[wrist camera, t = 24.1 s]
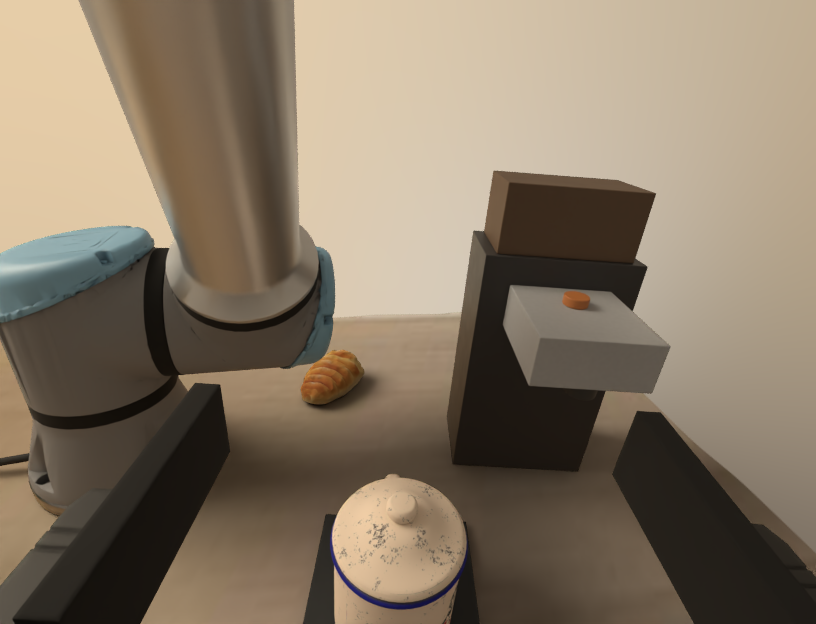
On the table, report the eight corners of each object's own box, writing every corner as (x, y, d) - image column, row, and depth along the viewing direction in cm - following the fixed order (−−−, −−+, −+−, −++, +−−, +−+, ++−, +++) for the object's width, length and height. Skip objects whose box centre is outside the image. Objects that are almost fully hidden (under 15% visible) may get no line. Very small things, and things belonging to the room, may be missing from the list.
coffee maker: (616, 553, 38) (762, 225, 25) (462, 545, 38) (528, 207, 24) (555, 422, 54) (625, 180, 41) (446, 416, 53) (482, 169, 40)
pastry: (333, 415, 52) (332, 390, 50) (287, 400, 54) (285, 375, 52) (366, 376, 60) (367, 353, 58) (325, 364, 62) (325, 342, 60)
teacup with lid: (463, 680, 28) (491, 570, 23) (325, 688, 27) (322, 576, 22) (437, 521, 39) (452, 422, 34) (338, 523, 38) (338, 422, 33)
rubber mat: (488, 702, 28) (489, 698, 27) (289, 693, 27) (289, 689, 27) (465, 525, 39) (465, 521, 39) (325, 518, 39) (325, 513, 39)
